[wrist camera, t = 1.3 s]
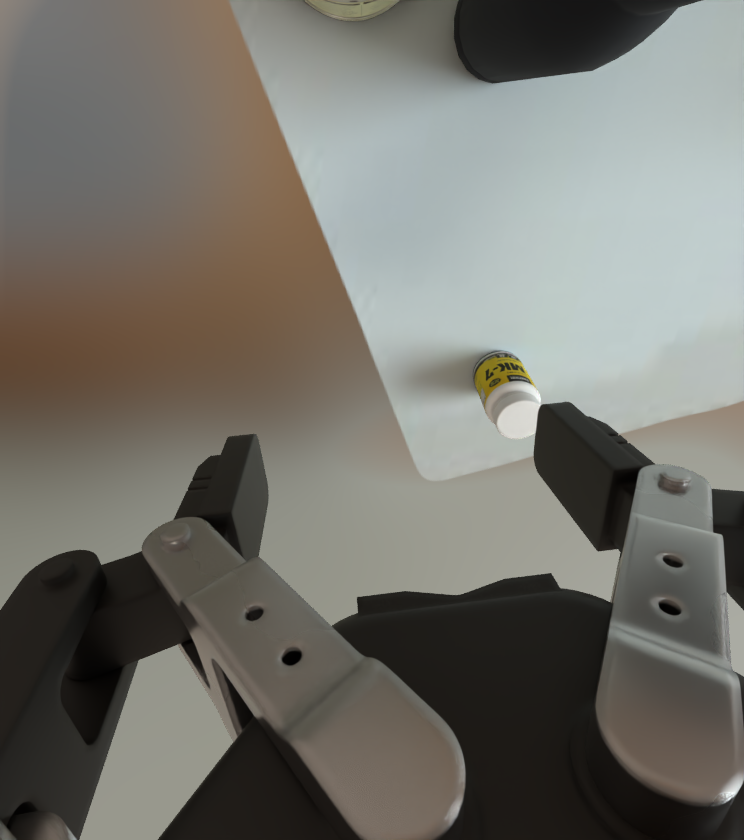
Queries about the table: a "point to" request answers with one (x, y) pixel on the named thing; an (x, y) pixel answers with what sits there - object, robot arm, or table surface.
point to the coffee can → (352, 8)
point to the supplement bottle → (507, 394)
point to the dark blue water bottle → (551, 34)
